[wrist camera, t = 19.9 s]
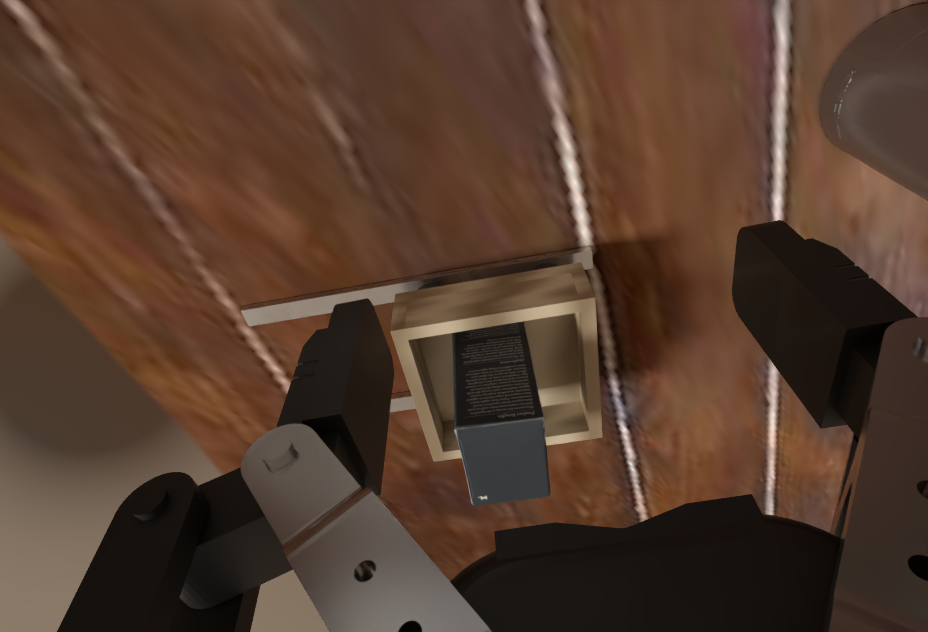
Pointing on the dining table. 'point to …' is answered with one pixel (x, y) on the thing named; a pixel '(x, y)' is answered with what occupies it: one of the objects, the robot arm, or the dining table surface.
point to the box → (499, 415)
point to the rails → (388, 289)
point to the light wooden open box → (497, 303)
